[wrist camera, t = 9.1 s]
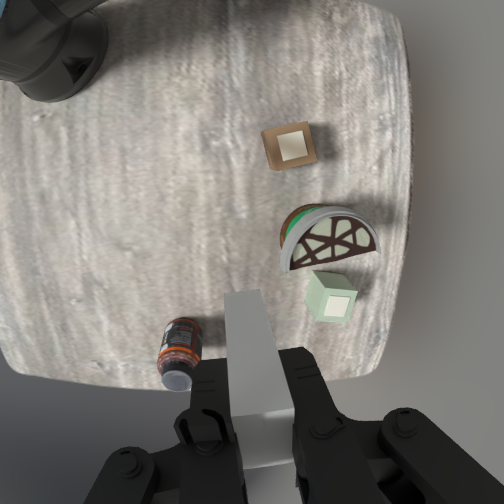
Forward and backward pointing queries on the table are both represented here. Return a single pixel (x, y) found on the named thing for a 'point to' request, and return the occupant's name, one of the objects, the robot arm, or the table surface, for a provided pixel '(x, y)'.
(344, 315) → the sage block
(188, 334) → the supplement bottle
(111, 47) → the table surface
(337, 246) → the food container
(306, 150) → the walnut block
